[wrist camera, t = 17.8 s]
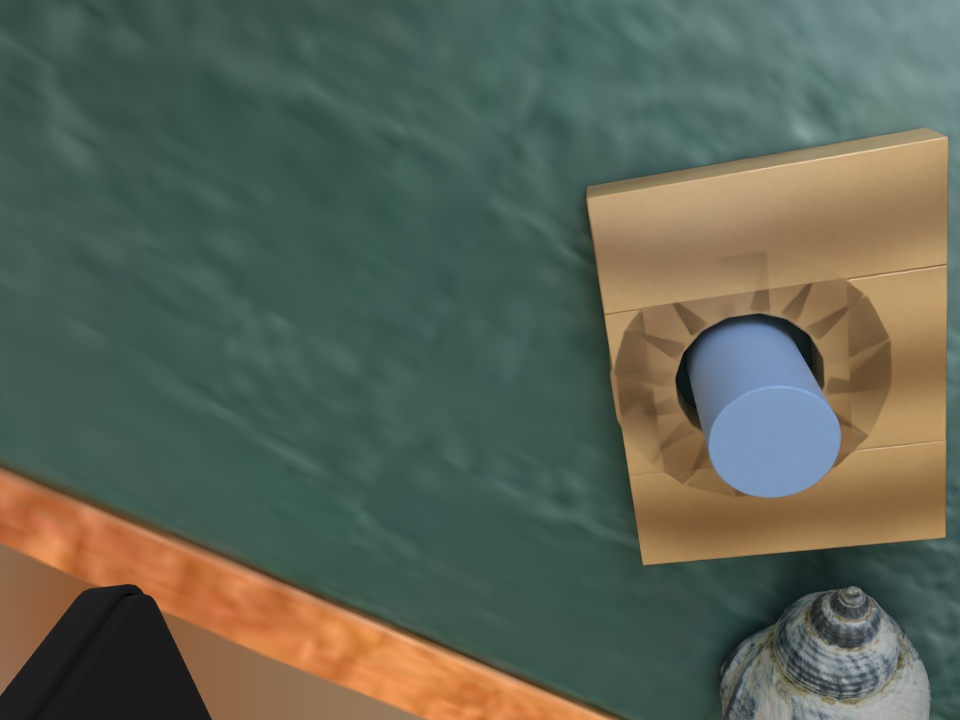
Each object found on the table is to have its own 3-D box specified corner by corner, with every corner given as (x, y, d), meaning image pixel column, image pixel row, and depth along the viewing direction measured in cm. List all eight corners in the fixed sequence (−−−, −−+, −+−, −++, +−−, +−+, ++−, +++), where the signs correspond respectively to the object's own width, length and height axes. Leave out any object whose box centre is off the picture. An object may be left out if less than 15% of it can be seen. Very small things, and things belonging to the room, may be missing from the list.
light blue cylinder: (680, 317, 34) (702, 395, 27) (791, 301, 33) (839, 377, 27) (691, 410, 35) (714, 505, 29) (797, 398, 35) (844, 491, 28)
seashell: (692, 682, 43) (846, 514, 38) (820, 792, 41) (1000, 630, 36) (654, 755, 38) (827, 570, 33) (799, 887, 36) (1008, 711, 30)
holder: (582, 186, 32) (582, 199, 30) (927, 126, 30) (949, 136, 28) (637, 538, 38) (639, 566, 36) (927, 510, 36) (945, 538, 34)
